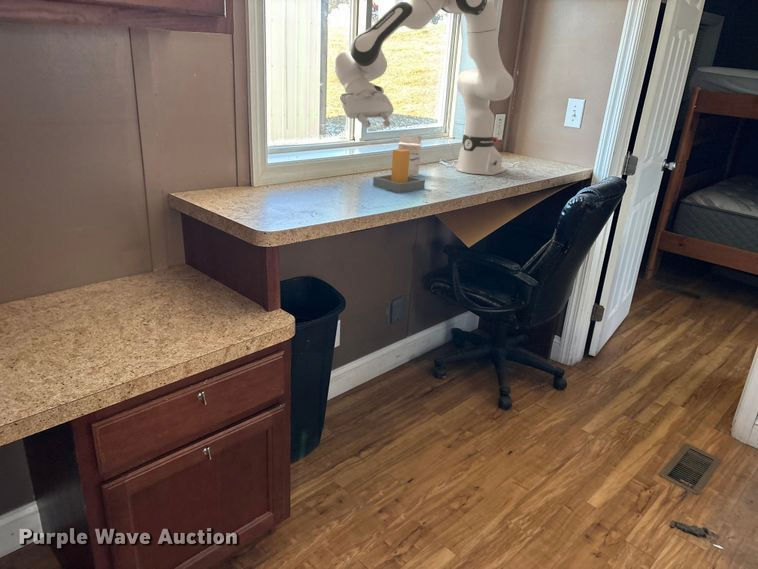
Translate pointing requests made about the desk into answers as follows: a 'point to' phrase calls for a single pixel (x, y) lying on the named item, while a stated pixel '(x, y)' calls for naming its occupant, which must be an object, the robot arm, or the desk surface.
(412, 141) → the ink cartridge box
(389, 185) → the tray
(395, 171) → the orange rectangular block
